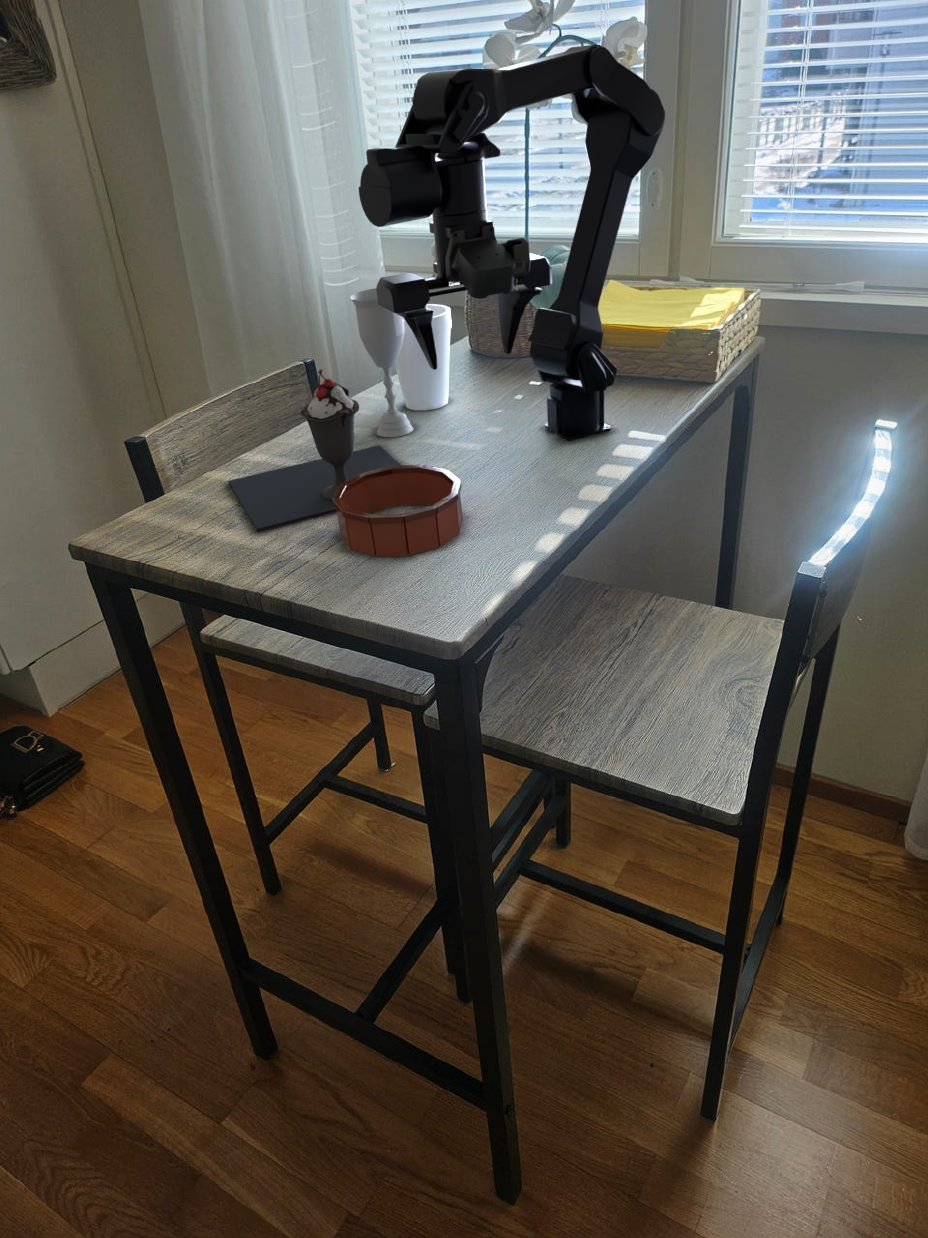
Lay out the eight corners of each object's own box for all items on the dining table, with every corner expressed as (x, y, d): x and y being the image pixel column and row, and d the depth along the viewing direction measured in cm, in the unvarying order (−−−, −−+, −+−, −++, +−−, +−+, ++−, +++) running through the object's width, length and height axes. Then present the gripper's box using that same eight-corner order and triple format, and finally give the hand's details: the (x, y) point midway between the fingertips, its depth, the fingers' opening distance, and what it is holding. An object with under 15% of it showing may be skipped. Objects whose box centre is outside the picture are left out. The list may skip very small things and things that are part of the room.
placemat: (379, 447, 115) (379, 445, 115) (425, 489, 103) (424, 485, 102) (228, 483, 109) (228, 480, 109) (257, 532, 97) (256, 528, 96)
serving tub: (435, 492, 102) (431, 455, 99) (483, 535, 91) (480, 496, 89) (326, 520, 98) (319, 483, 95) (363, 569, 87) (357, 528, 85)
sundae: (332, 509, 99) (309, 377, 91) (305, 492, 104) (280, 365, 96) (382, 491, 102) (363, 362, 94) (353, 475, 107) (333, 351, 99)
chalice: (412, 439, 117) (395, 299, 107) (363, 440, 118) (342, 301, 109) (425, 420, 123) (410, 286, 113) (378, 421, 124) (360, 288, 115)
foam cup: (457, 411, 125) (449, 317, 118) (393, 416, 126) (380, 323, 119) (458, 390, 133) (450, 301, 126) (398, 395, 134) (387, 307, 127)
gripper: (403, 232, 82) (421, 395, 91) (576, 205, 88) (578, 361, 96) (365, 221, 91) (385, 370, 99) (525, 197, 97) (531, 340, 105)
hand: (471, 360), depth 100 cm, fingers open, 9 cm apart
